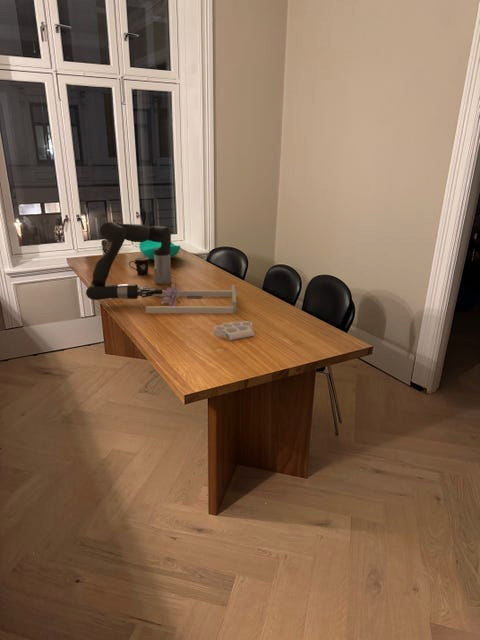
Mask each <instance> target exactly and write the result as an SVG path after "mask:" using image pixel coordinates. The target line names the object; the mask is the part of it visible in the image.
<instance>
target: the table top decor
mask: <svg viewBox="0 0 480 640" xmlns="http://www.w3.org/2000/svg"><path fill="white" fill-rule="evenodd" d="M159 247H161V243H160V242H154V241H149V240H146V241H144V242H139V251H140V252H141V254H143V255H144V257H147V258H149V259H150V260H153V261H154V250H155V249H156V248H159ZM181 247H182V246H180V245H176V244H174V243H173V242H172V241H171V249H170V259H171V258H173V257H175V256H176V255H177V254H178V252H180V250H181Z"/></svg>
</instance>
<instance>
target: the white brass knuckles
mask: <svg viewBox="0 0 480 640" xmlns="http://www.w3.org/2000/svg"><path fill="white" fill-rule="evenodd" d="M213 336H215V337H217V338H225V339H226V340H227V341H229V342H230V341H234V340H239V339H245V338H252V337H255V331H254V329H253V323H252V322H251V321H247V320H243V321H231V322H223V323H221V324H219V325H215V326H214V327H213ZM251 336H252V337H251Z"/></svg>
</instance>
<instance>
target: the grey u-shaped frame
mask: <svg viewBox="0 0 480 640" xmlns="http://www.w3.org/2000/svg"><path fill="white" fill-rule="evenodd" d="M235 286H236V285H235V284H231V290H227V289H226V290H215V289H214V290H213V289H211V290H206V289H205V290H203V289H200V290H199V289H198V290H197V289H196V290H194V289H191V290H188V289H187V290H185V289H184V290H183V289H181V290H180V289H179V291H178V293H177V295H178V297H186V299H203V297H216V298H217V297H218V298H219V297H223V298H224V297H231V304H232V305H231V306H219V305H218V306H214V305H213V306H205V305H204V306H203V305H202V306H201V305H200V306H199V305H198V306H197V305H196V306H194V305H193V306H191V305H189V306H188V305H187V306H184V305H183V306H181V305H179V306H178V305H177V306H176V305H174V306H171V305H166V306H165V305H164V306H163V305H161V306H159V305H155V306H153V305H150V306H149V305H147V306H145V314H237V296H236V288H235ZM165 290H166V289H165ZM165 290H164V289H162V292H163V291H165ZM175 292H176V289H175ZM153 297H166V296H165V295H164V294H163V293H162V294H155V295H153Z"/></svg>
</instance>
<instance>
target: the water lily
mask: <svg viewBox="0 0 480 640" xmlns="http://www.w3.org/2000/svg"><path fill="white" fill-rule="evenodd" d="M180 288H181V284H179V285H178V286H177V287H176V286H175V284H174V281H173V282H172V281H171V287H166V289H165V291H163V294H164V295H165V296H163V297H162V298H161V300H162V301H161V302H160V305H163V304H166V303H168V306H175V304H176V301H177V303H178V304H179V303H180V300H179V299H178V298H179V296H178V295H177V293H178V291H179V290H180ZM175 290H176V292H175Z"/></svg>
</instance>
